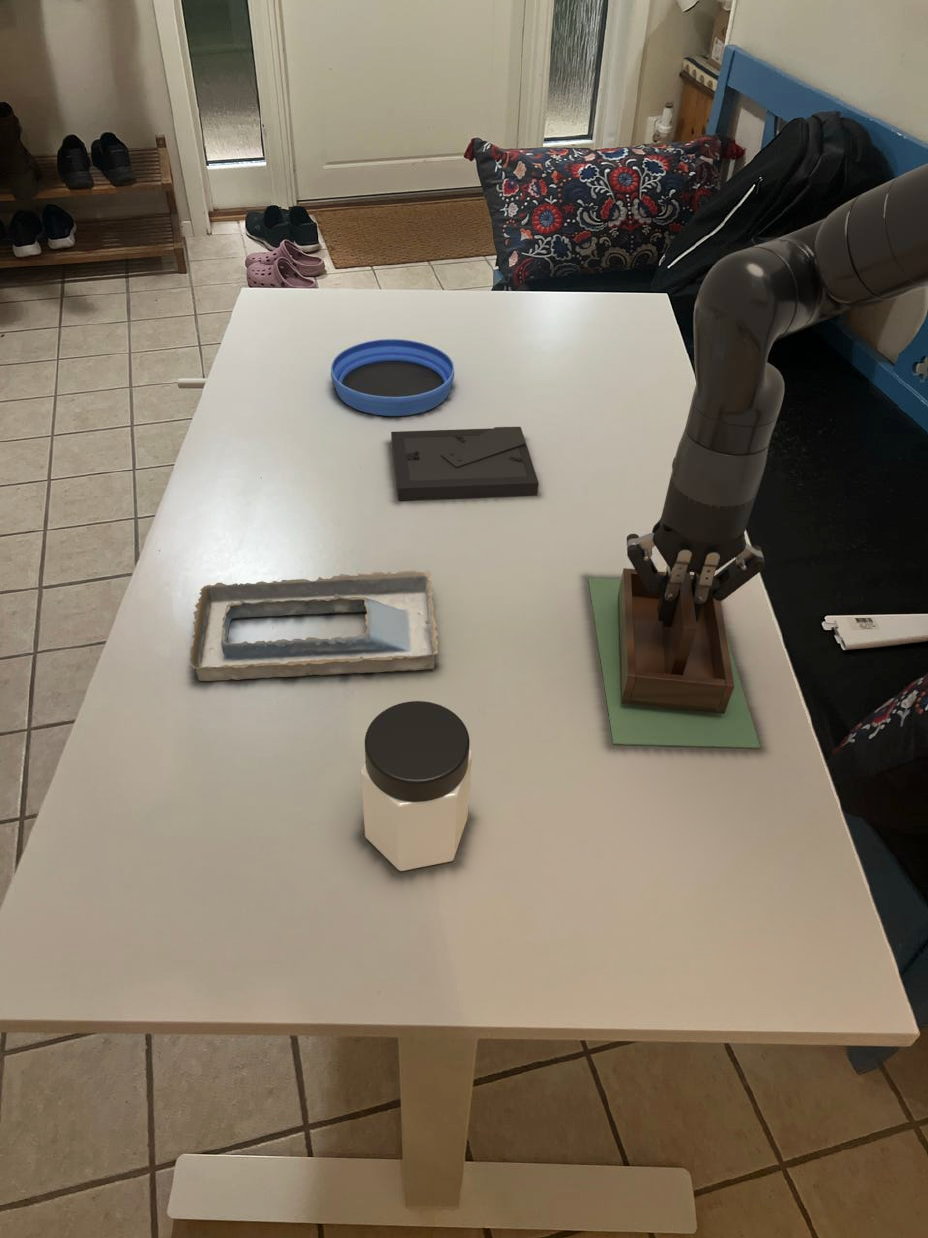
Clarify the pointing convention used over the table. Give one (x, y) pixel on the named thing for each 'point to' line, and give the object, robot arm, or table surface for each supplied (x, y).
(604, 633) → the mat
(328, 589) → the picture frame
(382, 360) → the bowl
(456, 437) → the picture frame
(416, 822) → the jar
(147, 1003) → the table surface
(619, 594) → the cutlery caddy
